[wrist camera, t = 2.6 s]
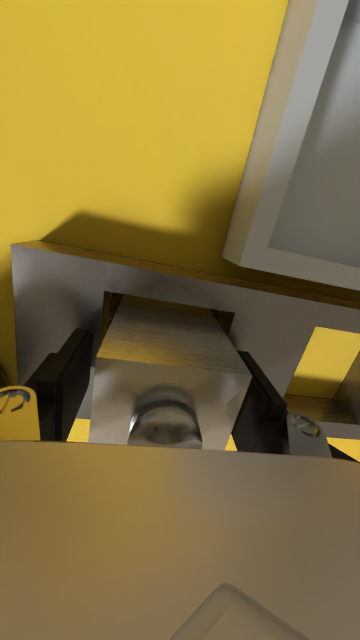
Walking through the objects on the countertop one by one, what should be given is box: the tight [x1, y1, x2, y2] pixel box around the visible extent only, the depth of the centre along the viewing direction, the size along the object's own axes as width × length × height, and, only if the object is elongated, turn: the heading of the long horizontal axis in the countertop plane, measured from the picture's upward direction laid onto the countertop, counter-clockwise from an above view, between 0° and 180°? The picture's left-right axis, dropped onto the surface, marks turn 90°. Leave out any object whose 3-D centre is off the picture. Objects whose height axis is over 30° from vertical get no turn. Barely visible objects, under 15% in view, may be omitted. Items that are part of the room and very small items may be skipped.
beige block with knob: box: [88, 294, 252, 450], centre depth 11 cm, size 5×5×8 cm
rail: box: [11, 240, 360, 440], centre depth 14 cm, size 24×9×2 cm, turn 78°
